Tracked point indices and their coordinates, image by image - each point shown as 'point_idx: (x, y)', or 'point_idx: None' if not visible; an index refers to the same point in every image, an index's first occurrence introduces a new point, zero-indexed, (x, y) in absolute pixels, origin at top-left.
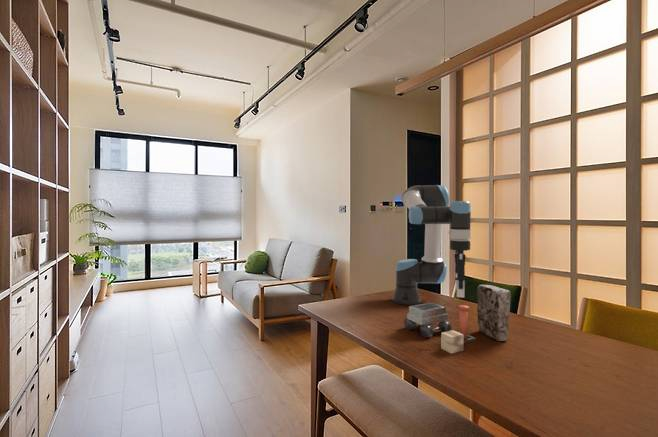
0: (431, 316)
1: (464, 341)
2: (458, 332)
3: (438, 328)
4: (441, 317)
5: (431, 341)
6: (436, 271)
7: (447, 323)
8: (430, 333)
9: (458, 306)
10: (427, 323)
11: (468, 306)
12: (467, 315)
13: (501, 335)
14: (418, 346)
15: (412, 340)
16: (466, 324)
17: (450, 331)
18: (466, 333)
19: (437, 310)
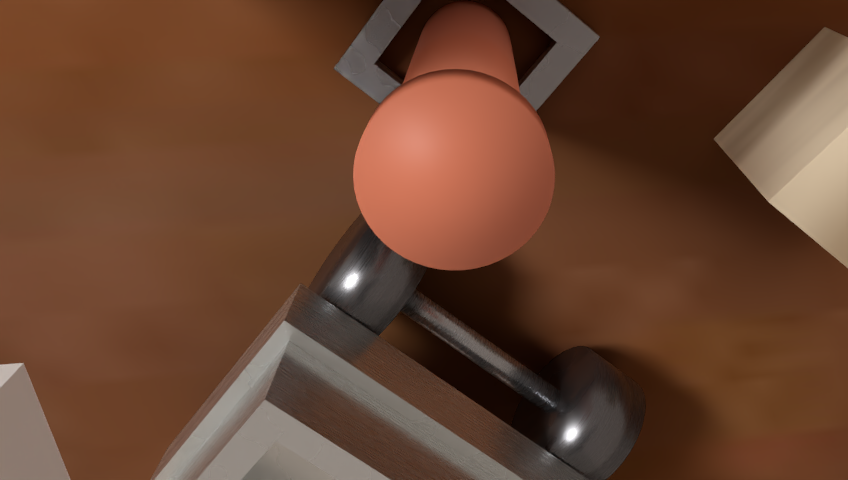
0: (488, 475)
1: (595, 32)
2: (845, 133)
3: (461, 325)
4: (377, 364)
5: (668, 329)
6: None
7: (390, 268)
8: (623, 376)
9: (477, 265)
10: (554, 459)
11: (414, 95)
12: (488, 71)
13: None
14: (829, 410)
15: (698, 467)
16: (501, 52)
17: (831, 225)
18: (498, 27)
19: (402, 467)
